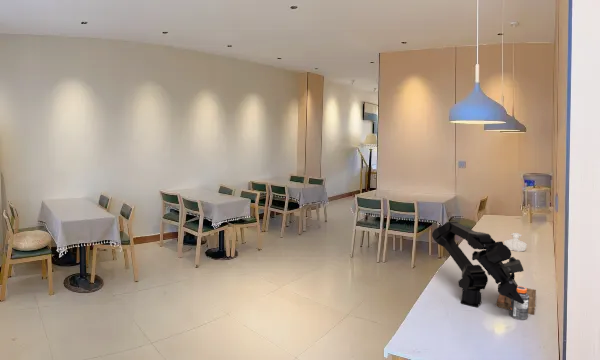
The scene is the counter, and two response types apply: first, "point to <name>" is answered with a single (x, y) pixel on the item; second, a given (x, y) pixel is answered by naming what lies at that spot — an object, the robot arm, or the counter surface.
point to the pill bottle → (520, 305)
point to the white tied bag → (515, 243)
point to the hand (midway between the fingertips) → (522, 298)
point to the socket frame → (505, 301)
